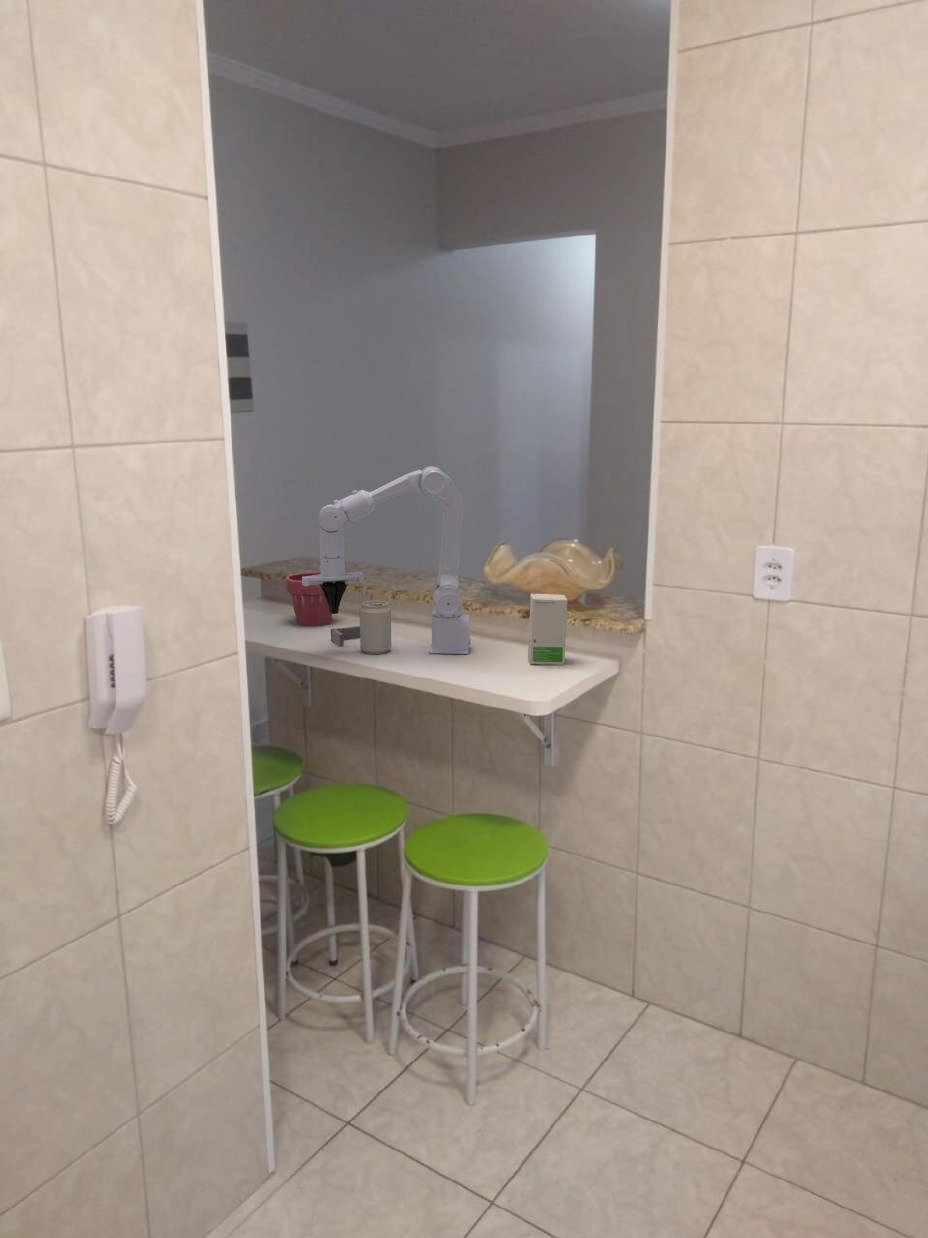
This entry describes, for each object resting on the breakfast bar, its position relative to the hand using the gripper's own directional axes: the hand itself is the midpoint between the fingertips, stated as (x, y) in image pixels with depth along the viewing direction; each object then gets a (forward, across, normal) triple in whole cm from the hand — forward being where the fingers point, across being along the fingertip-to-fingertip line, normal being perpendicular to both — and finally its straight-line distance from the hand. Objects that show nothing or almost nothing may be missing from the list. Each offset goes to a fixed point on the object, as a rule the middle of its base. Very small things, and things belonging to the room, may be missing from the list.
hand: (334, 613), depth 226 cm
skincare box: (+10, -42, +28) cm, 52 cm away
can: (+10, -9, +3) cm, 14 cm away
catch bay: (+10, -9, -8) cm, 16 cm away
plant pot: (+10, -5, -32) cm, 34 cm away
